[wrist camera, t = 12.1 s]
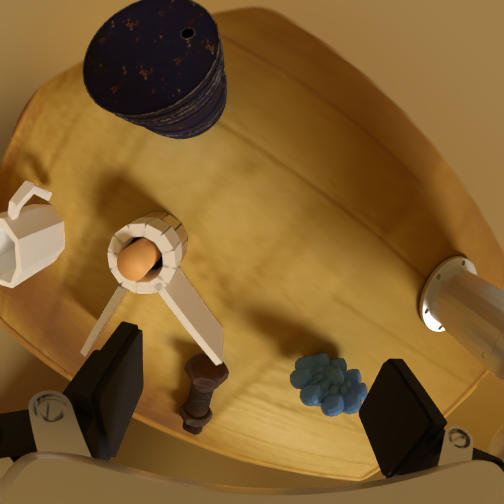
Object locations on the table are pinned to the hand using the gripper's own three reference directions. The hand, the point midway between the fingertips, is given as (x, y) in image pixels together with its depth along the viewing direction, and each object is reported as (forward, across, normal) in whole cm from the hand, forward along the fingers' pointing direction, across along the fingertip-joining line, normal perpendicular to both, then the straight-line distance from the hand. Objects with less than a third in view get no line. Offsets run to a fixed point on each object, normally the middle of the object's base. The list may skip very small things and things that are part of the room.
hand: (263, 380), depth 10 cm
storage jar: (+24, +10, -14) cm, 30 cm away
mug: (+24, +28, +2) cm, 36 cm away
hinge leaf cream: (+24, +7, +6) cm, 26 cm away
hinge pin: (+24, +11, +2) cm, 26 cm away
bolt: (+25, +4, +25) cm, 35 cm away
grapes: (+25, -12, +16) cm, 33 cm away
